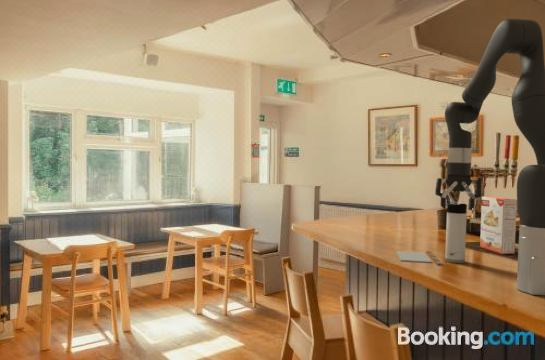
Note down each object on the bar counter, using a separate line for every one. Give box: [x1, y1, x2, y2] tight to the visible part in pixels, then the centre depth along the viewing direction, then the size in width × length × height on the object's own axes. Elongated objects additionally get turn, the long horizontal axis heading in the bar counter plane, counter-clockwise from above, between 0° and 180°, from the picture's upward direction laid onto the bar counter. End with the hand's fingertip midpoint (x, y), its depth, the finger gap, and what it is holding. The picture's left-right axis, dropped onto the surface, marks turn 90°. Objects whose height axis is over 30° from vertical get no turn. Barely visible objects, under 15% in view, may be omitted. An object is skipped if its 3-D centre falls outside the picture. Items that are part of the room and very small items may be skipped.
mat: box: [395, 250, 433, 264], centre depth 161 cm, size 16×10×1 cm, turn 170°
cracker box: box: [479, 195, 517, 255], centre depth 178 cm, size 14×6×21 cm, turn 8°
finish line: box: [425, 250, 443, 266], centre depth 160 cm, size 22×2×1 cm, turn 170°
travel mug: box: [444, 203, 468, 264], centre depth 156 cm, size 6×7×20 cm
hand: (457, 209), depth 155 cm, fingers open, 8 cm apart
